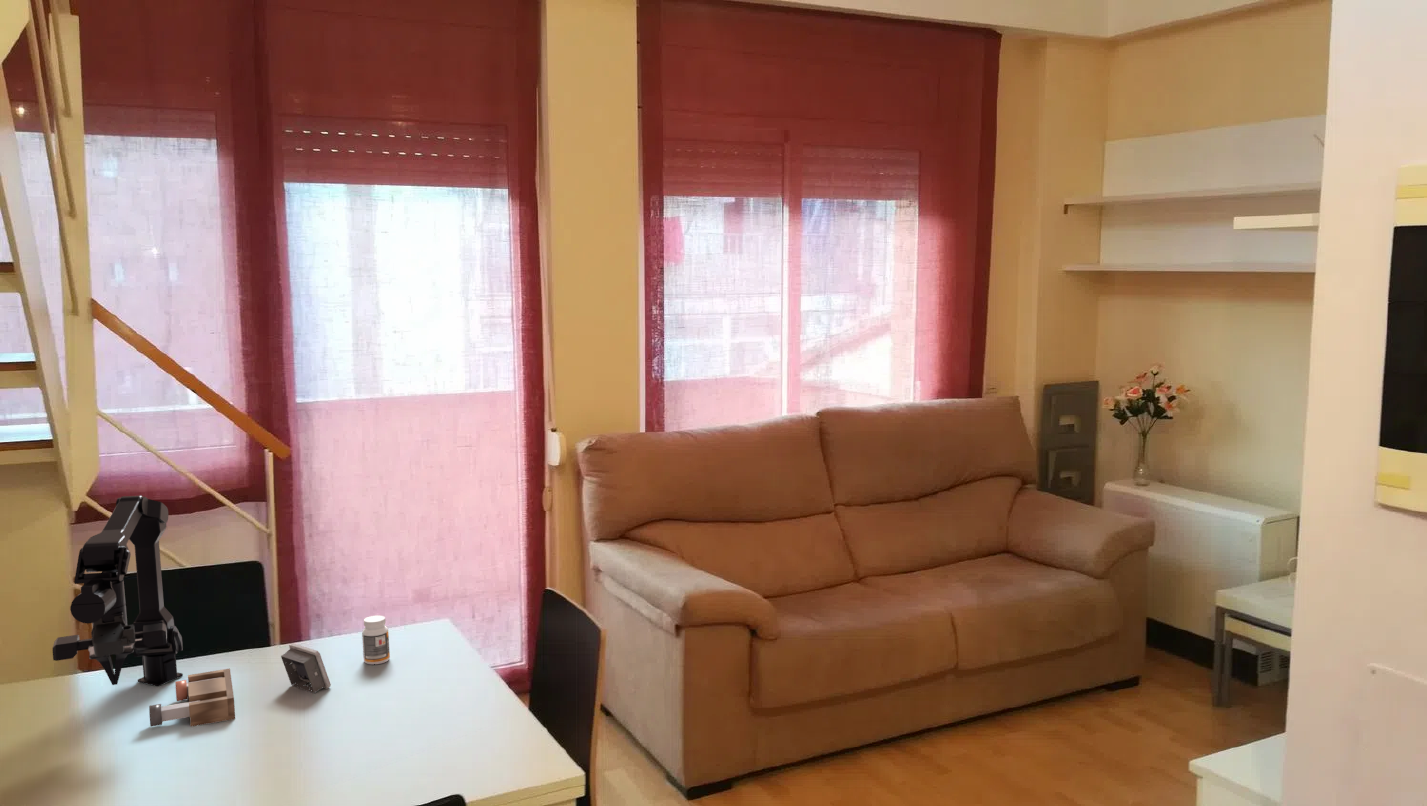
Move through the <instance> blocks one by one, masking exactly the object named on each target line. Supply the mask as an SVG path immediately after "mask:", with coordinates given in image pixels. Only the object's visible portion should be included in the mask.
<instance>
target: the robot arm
mask: <svg viewBox="0 0 1427 806" xmlns="http://www.w3.org/2000/svg"><path fill="white" fill-rule="evenodd" d="M115 502H116V503H115V507H114V510H113V512H112V513H111V515H110V516H109V518H108V520H107V522H106V524H105V525H104V527H103V529H102V530H101V532H99V533H97V534H95V535H92V536H90V537H89V538H88V539H87V541H85V543H84V544H83V545H82V548H80V549H79V553H78V557H77V563H76V570H75V575H74V581H73V582H74V584H75V585H76V584H77V585H78V584H80V585H81V584H83V585H82V586H81V587H80V593H79V594H78V595H76V596H75V597H74V598H73V599H72V600H71V601H72V602H71V604H70V607H69V610H70V613H71V616H72V617H73V618H74V619H75V620H77V622H79V623H81V624H91V625H92V629H91V634H90V635H91V638H86V639H80V635H79V634H74V635H67V636H58V637H57V638H56V639H55V640H54V641H53V644H52V645H53V646H52V661H57V662H59V661H63V660H71V659H74V658H75V656H76V655H78V651H86V650H88V652H89V655H88V656H89V657H88V658H89V660H95V661H97V662H98V663H99V665H101V667H102V668H103V670H104V672H105V674H106V675H107V677H108V679H109V681H110V683H111V685H112V686H116V685H118V682H119V678H120V675H121V671H122V667H123V665H124V662H125V659H126V658H127V656H128V655H130V654H133V657H134V658H138V657H142V658H141V659H142V662H141V663H142V672H143V676H142V677H141V678H138V679H137V683H141V684H144V685H150V686H154V685H155V687H160V686H162V685H164V684H167V683H169V682H172V681H174V680H177V679H179V678H182V677H183V676H184V675H183V673H182V672H178V667H177V659H176V655H177V654H178V653H179V652H182V651H184V650H183V648H184V646H183V637H182V634H181V633H180V632H179V629H178V628H177V626H176V625H175V620H174V616H173V615H172V614H171V612H170V611H169V610H168V609H167V608H166V607H165V604H164V591H163V589H164V588H163V579H162V578H163V577H162V565H161V564H162V563H161V552H160V551H161V550H160V540H161V538H162V537H163V535H164V533H165V531H166V529H167V523H168V520H169V509H168V507H167V506H166V505H165V504H164V503H163V502H162V501H158V500H154V499H150V498H148V497H146V496H142V495H126V496H121V497H118V498H117V499H116V501H115ZM129 541H130V542H131V544H132V545H133V546H134V554H135V568H136V570H135V571H136V580H137V594H138V607H139V613H138V614H137V616H136V618H135V620H134V621H133V623H132V624H128V618H127V617H128V616H127V606H126V604H127V603H126V595H125V594H126V593H125V584H124V583H125V582H124V581H125V580H124V577H125V575H127V573H128V568H129V565H130V559H131V551H130V549H129V547H128V545H127V544H128V542H129ZM111 655H115V663H114V665H113V660H112V656H111ZM159 685H160V686H159Z"/></svg>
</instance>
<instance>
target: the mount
mask: <svg viewBox="0 0 1427 806" xmlns="http://www.w3.org/2000/svg"><path fill="white" fill-rule="evenodd" d="M219 677H222V678H219ZM187 678H188V679H187V680H188V681H187V683H188V682H192V683H188V690H189V697H188V702H191V703H189V712H190V717H189V722H190V723H189V724H190V725H189V726H190V727H197V725H198V726H202V725H203V726H204V725H208V724H209V725H210V724H213V723H220V722H225V721H231V720H235V719H236V710H235V697H234V695H235V694H234V689H233V680H232V675H231V669H230V668H229V667H228V668H224V669H218V670H212V671H205V672H198V673H194V674H193V673H192V674H188V675H187ZM212 678H216V679H212ZM206 679H210V680H206ZM200 680H204V681H200ZM194 681H198V682H194ZM198 700H200V701H198ZM192 701H197V702H192Z"/></svg>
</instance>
